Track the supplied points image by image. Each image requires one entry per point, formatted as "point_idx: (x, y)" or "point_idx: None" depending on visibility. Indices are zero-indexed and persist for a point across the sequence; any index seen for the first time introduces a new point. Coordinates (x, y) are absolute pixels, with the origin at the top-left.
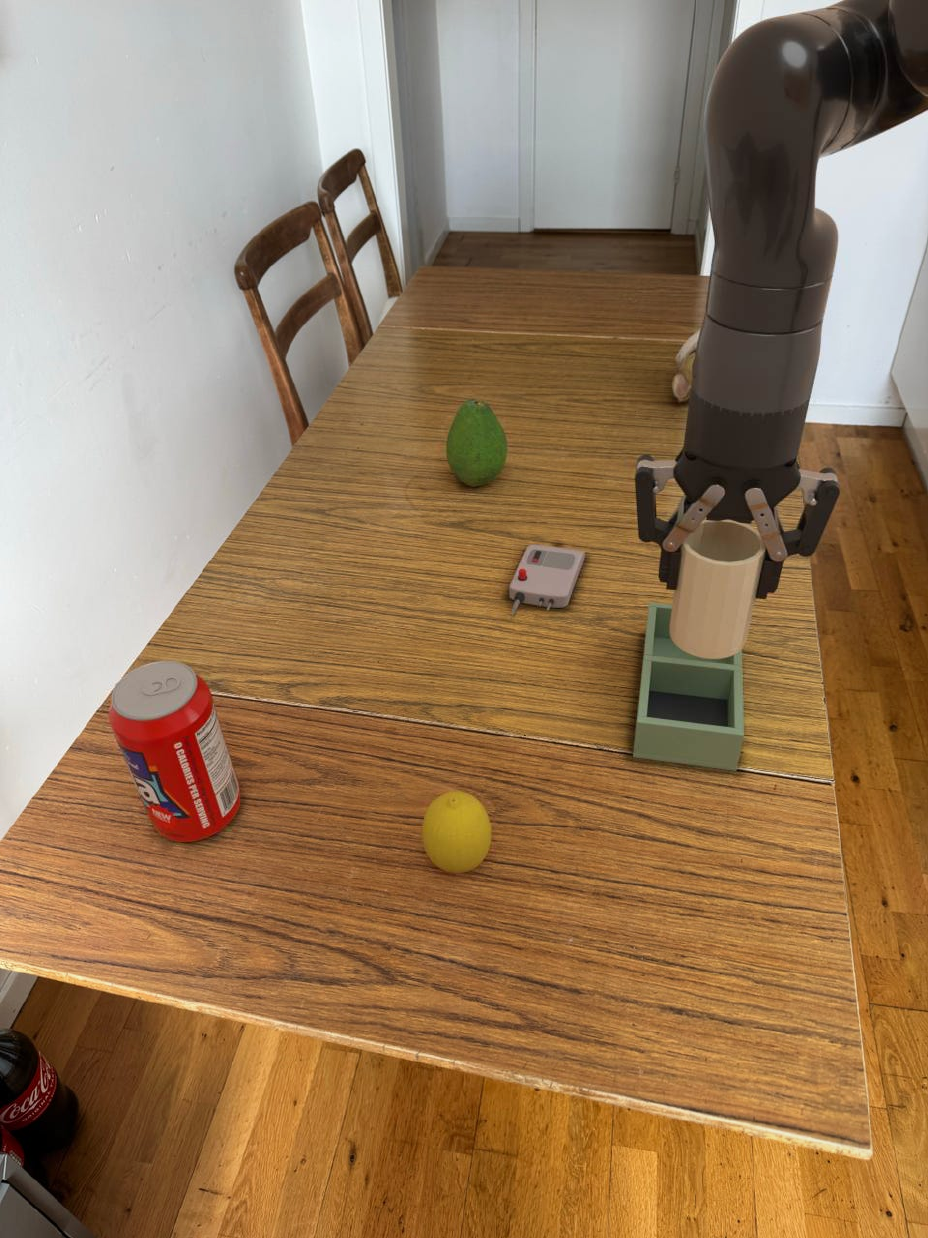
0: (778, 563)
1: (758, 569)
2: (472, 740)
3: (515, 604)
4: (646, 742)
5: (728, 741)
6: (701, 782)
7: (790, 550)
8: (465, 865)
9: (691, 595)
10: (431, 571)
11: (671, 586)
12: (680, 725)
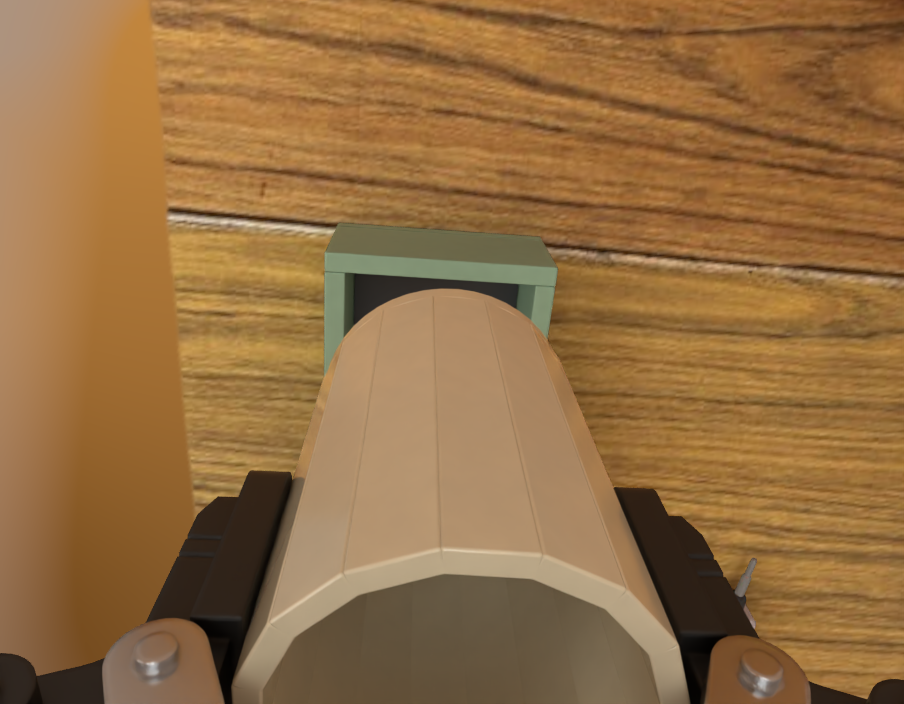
0: (173, 616)
1: (275, 568)
2: (857, 247)
3: (746, 584)
4: (524, 248)
5: (357, 246)
6: (407, 185)
7: (89, 691)
8: None
9: (575, 437)
10: (882, 650)
11: (638, 496)
12: (463, 266)
